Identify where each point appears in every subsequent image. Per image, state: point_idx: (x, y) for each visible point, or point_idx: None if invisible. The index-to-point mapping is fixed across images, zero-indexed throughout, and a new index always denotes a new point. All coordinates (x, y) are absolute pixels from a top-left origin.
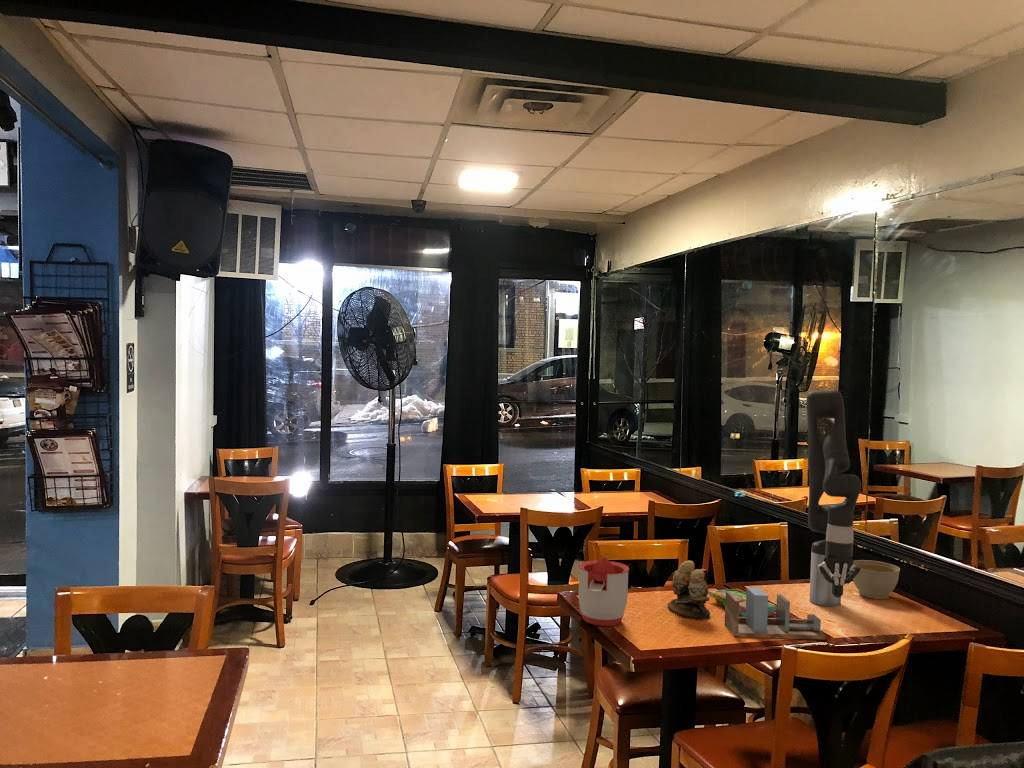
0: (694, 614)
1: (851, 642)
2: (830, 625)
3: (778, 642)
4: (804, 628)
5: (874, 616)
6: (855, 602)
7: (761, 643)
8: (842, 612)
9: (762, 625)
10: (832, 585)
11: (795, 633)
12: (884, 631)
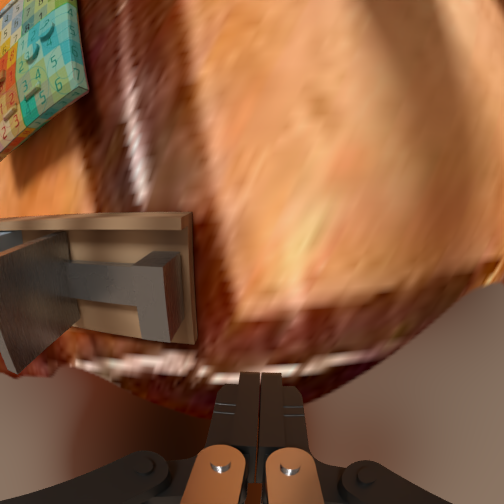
0: None
1: (283, 358)
2: (295, 170)
3: (65, 346)
4: (128, 303)
5: (492, 88)
6: None
7: None
8: (410, 27)
9: None
10: (207, 446)
11: (99, 323)
12: (464, 239)
